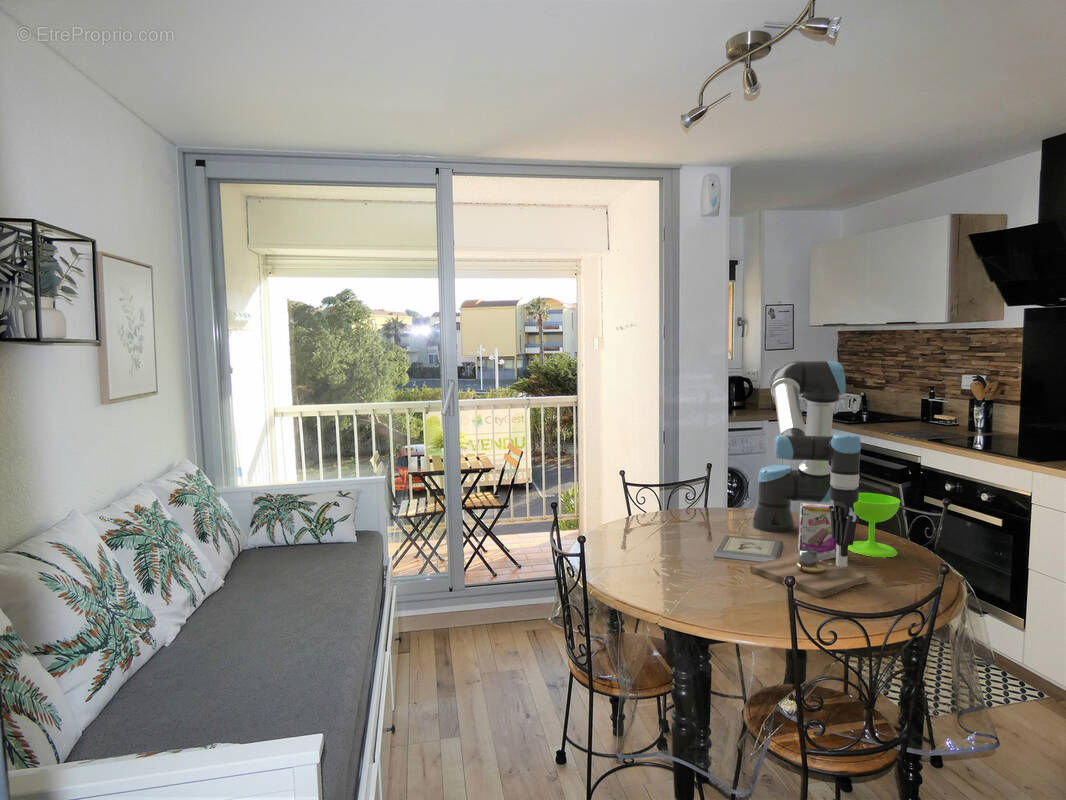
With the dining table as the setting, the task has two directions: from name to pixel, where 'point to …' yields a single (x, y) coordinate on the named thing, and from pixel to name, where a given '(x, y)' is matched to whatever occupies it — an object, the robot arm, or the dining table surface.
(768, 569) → the board
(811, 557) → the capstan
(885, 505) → the wineglass
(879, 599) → the dining table surface
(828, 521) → the candy bar box
